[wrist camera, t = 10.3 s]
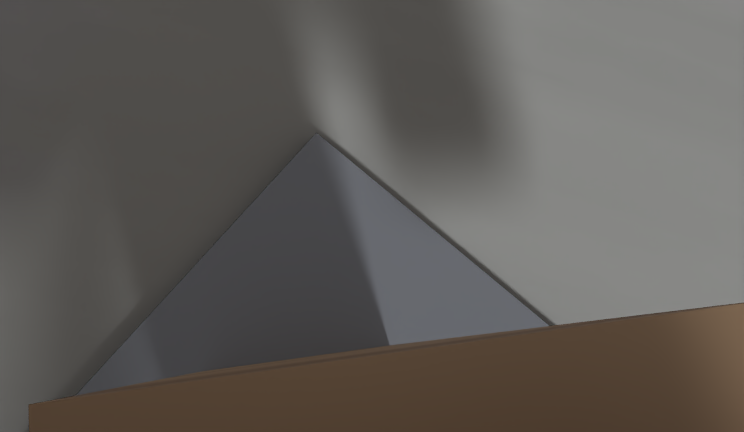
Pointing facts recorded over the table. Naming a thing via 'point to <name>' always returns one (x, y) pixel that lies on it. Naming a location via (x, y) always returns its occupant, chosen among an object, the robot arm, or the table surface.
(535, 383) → the walnut block
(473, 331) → the mat
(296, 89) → the table surface
